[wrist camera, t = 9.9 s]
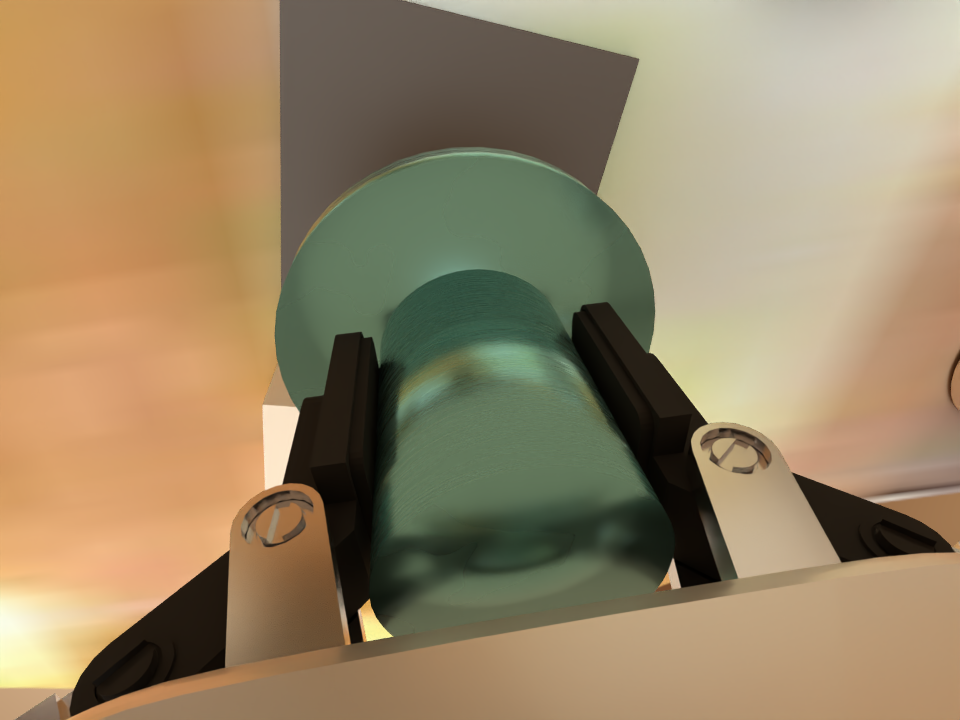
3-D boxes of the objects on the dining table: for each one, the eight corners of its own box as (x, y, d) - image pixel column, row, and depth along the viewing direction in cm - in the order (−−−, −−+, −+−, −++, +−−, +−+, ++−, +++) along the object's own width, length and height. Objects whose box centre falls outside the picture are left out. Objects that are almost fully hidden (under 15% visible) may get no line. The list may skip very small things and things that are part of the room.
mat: (634, 58, 21) (639, 59, 21) (545, 341, 29) (548, 346, 28) (282, -29, 18) (279, -30, 18) (283, 312, 26) (281, 317, 25)
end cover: (621, 144, 16) (985, 347, 6) (543, 382, 20) (678, 710, 11) (314, 82, 14) (116, 232, 4) (307, 361, 18) (208, 743, 9)
